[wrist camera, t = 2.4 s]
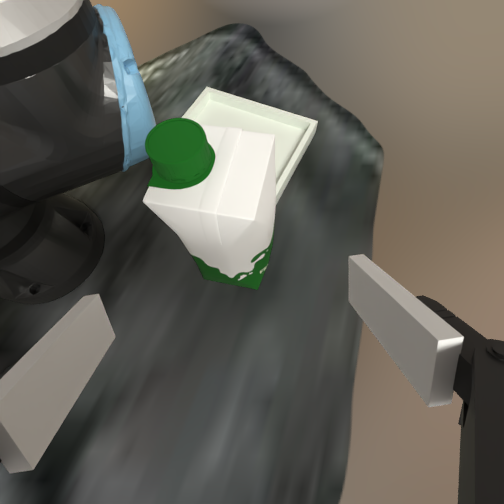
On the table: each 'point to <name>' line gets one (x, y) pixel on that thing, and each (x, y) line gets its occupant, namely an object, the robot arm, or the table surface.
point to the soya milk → (216, 195)
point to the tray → (258, 127)
